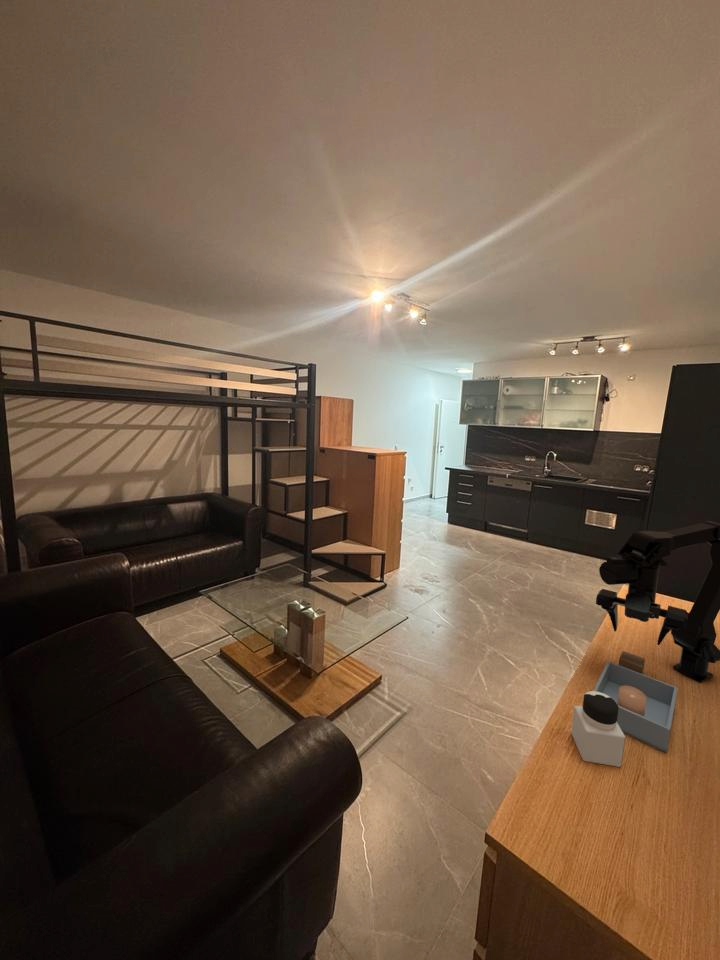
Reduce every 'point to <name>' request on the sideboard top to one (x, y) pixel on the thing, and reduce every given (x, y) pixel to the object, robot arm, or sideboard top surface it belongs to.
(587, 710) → the medicine bottle
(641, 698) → the terracotta cylinder
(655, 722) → the tote
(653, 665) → the sideboard top surface
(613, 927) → the sideboard top surface
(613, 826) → the sideboard top surface
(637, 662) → the walnut cube
